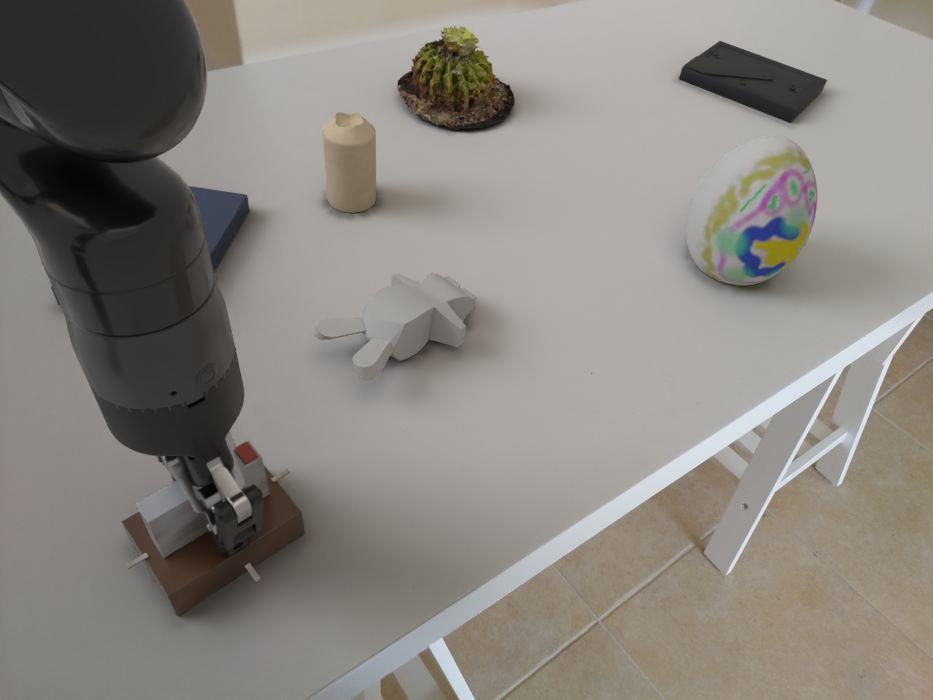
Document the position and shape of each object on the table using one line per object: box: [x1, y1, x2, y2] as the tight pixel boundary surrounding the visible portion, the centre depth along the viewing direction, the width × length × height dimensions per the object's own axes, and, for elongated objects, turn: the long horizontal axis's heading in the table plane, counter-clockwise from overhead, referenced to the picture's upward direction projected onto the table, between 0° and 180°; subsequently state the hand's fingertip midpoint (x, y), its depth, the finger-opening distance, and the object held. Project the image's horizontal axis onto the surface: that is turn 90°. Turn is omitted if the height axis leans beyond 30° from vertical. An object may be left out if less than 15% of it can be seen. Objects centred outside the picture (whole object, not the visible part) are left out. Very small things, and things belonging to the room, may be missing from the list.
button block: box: [50, 185, 251, 306], centre depth 73 cm, size 19×12×4 cm, turn 172°
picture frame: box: [678, 40, 828, 124], centre depth 111 cm, size 13×2×18 cm
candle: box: [322, 112, 377, 214], centre depth 80 cm, size 6×6×10 cm
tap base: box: [121, 464, 306, 617], centre depth 52 cm, size 12×12×3 cm
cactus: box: [396, 25, 515, 131], centre depth 98 cm, size 17×16×10 cm
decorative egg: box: [684, 134, 818, 287], centre depth 76 cm, size 12×12×15 cm
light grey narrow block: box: [135, 440, 270, 558], centre depth 50 cm, size 8×2×5 cm, turn 131°
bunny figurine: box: [312, 272, 477, 381], centre depth 67 cm, size 10×5×15 cm
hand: (214, 518), depth 51 cm, fingers closed on tap base, 4 cm apart
